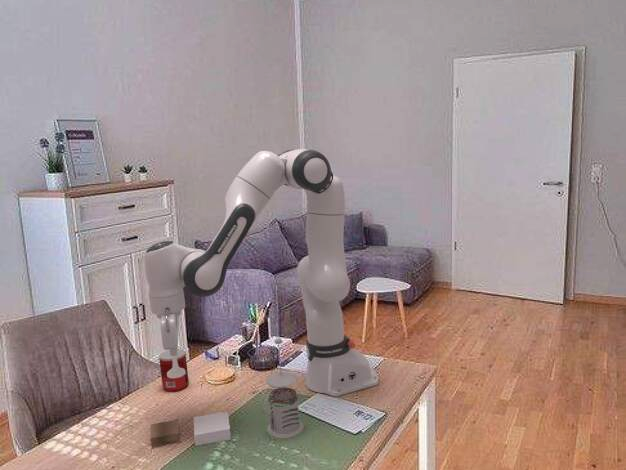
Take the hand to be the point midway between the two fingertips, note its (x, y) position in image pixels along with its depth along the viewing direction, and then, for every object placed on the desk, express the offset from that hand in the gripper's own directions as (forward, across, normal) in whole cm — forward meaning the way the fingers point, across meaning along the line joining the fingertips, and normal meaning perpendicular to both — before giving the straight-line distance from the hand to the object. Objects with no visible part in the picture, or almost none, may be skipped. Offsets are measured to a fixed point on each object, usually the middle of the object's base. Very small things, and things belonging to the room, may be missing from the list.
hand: (174, 352), depth 142 cm
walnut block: (+21, -7, +4) cm, 22 cm away
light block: (+20, -9, -8) cm, 24 cm away
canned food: (+20, +22, +2) cm, 30 cm away
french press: (+21, -13, -26) cm, 35 cm away
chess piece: (+7, 0, 0) cm, 7 cm away
